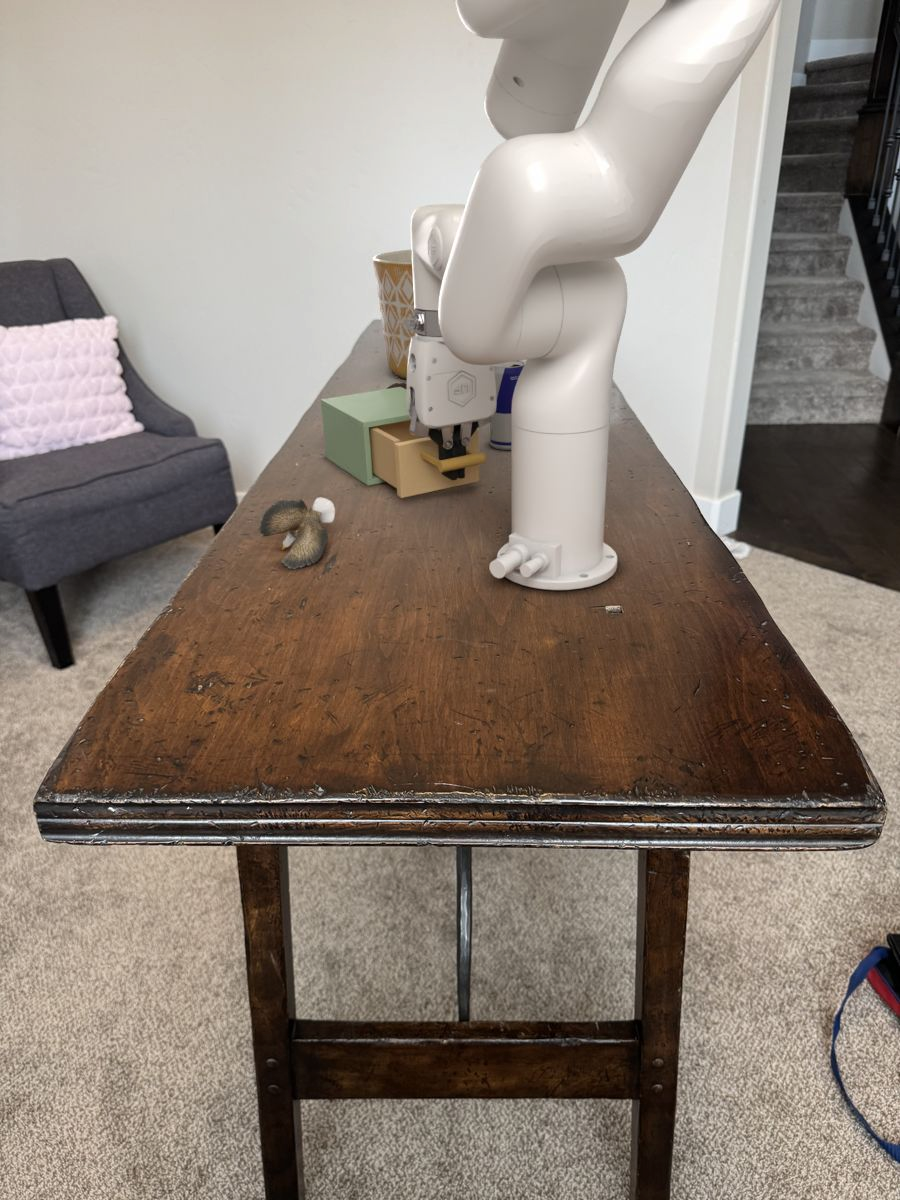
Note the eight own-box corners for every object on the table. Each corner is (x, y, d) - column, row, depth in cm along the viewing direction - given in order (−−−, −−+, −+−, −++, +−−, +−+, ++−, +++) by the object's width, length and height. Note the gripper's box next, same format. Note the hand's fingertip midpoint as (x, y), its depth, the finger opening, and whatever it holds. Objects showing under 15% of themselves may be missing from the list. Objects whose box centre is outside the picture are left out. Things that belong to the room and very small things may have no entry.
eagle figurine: (264, 527, 103) (243, 544, 94) (293, 475, 101) (274, 487, 92) (320, 561, 104) (305, 581, 95) (351, 510, 102) (338, 526, 93)
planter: (503, 387, 164) (503, 261, 154) (367, 386, 168) (357, 263, 158) (516, 357, 187) (516, 246, 177) (395, 357, 191) (389, 248, 181)
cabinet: (450, 468, 123) (448, 407, 120) (367, 486, 118) (362, 422, 114) (403, 443, 135) (400, 386, 131) (326, 457, 130) (320, 399, 126)
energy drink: (523, 451, 129) (523, 367, 124) (487, 449, 131) (485, 367, 125) (527, 440, 134) (528, 359, 129) (492, 439, 135) (491, 359, 130)
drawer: (505, 494, 111) (505, 441, 108) (424, 513, 106) (421, 458, 103) (431, 454, 126) (428, 407, 123) (357, 469, 122) (353, 420, 118)
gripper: (404, 335, 95) (412, 497, 104) (521, 319, 102) (520, 473, 110) (374, 326, 101) (385, 479, 109) (486, 311, 107) (488, 458, 116)
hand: (453, 476), depth 110 cm, fingers closed
